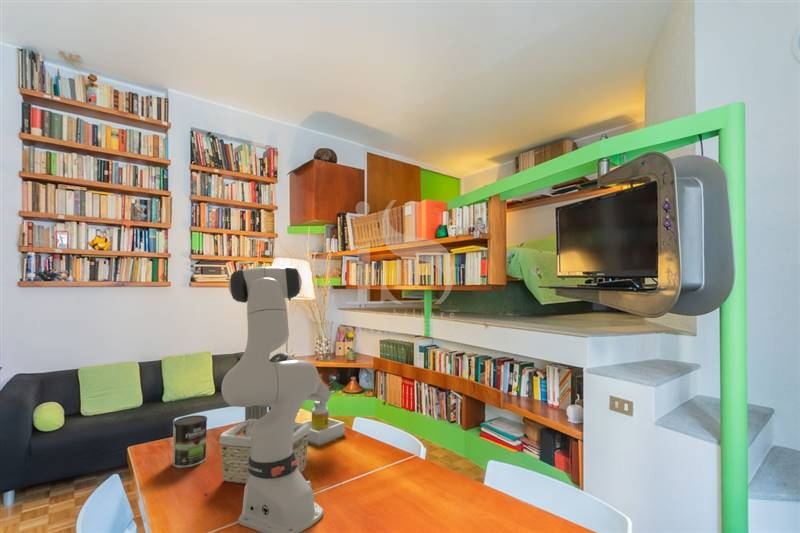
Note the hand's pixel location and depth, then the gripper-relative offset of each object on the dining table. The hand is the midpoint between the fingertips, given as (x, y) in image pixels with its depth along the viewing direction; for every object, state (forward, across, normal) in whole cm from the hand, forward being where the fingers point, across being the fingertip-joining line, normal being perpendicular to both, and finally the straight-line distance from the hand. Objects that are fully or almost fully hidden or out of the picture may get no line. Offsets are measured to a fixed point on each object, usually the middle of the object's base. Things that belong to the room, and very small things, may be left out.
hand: (313, 402), depth 155 cm
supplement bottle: (+12, +1, -7) cm, 14 cm away
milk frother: (+8, -28, -12) cm, 32 cm away
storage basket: (-11, +3, -32) cm, 34 cm away
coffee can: (-13, -29, -33) cm, 45 cm away
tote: (+12, +1, -8) cm, 15 cm away
